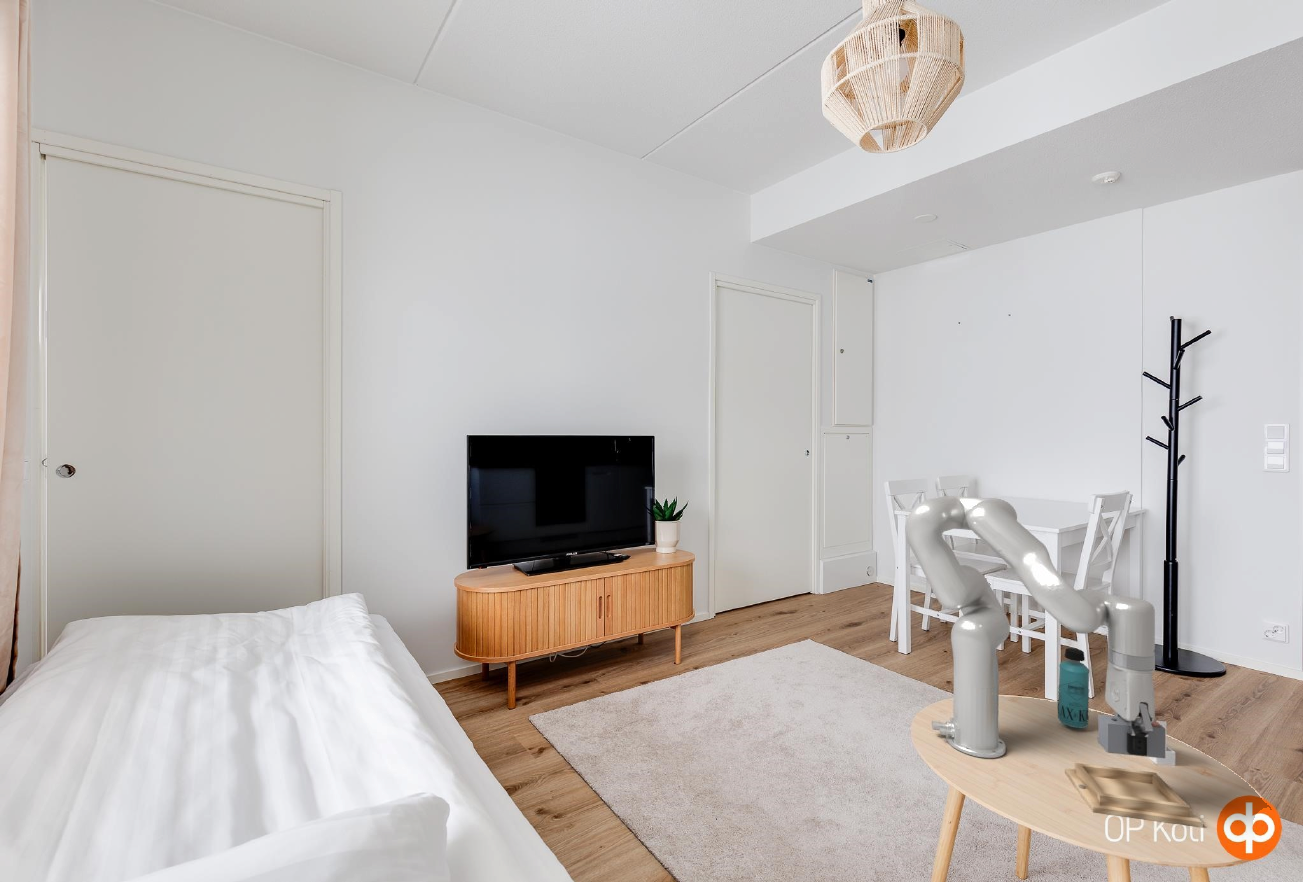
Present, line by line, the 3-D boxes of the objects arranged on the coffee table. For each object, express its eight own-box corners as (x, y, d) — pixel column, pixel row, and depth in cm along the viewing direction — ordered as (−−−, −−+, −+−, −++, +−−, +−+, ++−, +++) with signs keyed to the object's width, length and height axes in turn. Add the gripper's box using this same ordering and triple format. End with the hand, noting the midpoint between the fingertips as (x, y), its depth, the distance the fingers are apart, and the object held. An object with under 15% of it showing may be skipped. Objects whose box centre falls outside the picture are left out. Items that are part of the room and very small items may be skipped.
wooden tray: (1093, 812, 120) (1093, 797, 119) (1064, 772, 133) (1064, 759, 133) (1202, 827, 115) (1202, 811, 115) (1161, 784, 128) (1161, 771, 128)
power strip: (1107, 752, 123) (1107, 722, 123) (1098, 742, 127) (1098, 713, 127) (1165, 758, 120) (1165, 727, 120) (1153, 748, 124) (1153, 717, 124)
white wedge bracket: (1169, 764, 132) (1157, 720, 136) (1144, 764, 141) (1134, 723, 145) (1188, 766, 131) (1175, 722, 135) (1162, 766, 140) (1151, 725, 144)
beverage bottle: (1052, 720, 156) (1053, 644, 156) (1080, 722, 155) (1081, 645, 155) (1065, 733, 150) (1067, 653, 149) (1095, 735, 149) (1096, 655, 148)
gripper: (1091, 643, 132) (1091, 726, 133) (1130, 674, 116) (1130, 768, 116) (1131, 646, 130) (1131, 730, 131) (1176, 677, 114) (1176, 773, 114)
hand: (1130, 747), depth 124 cm, fingers closed on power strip, 4 cm apart
